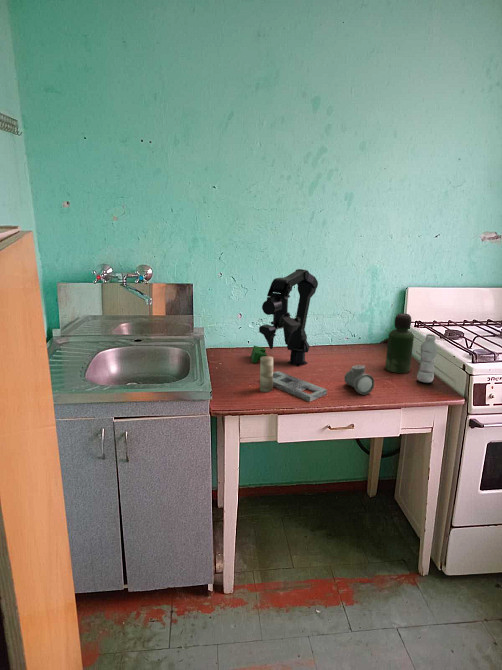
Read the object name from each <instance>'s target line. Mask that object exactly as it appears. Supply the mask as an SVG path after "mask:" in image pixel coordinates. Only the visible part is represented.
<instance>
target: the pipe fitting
mask: <svg viewBox="0 0 502 670" xmlns="http://www.w3.org/2000/svg"><path fill="white" fill-rule="evenodd" d="M365 371H366V365H363V364H356V365H353V366H352V367H351V368H350V369H349V371H347V372H346V373H345V374H344V378H343V379H344V383H345V384H346V385H348V386H350V387H352V388H354V391H356V392H357V393H358V394H359V395H362V396H365V395H368V394H370V393H371V392H372V391H373V389H374V387H375V379H374V377H373V376H372V375H371V374H368V373H366V372H365Z"/></svg>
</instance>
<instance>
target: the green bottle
mask: <svg viewBox="0 0 502 670" xmlns="http://www.w3.org/2000/svg"><path fill="white" fill-rule="evenodd" d="M411 326H412V316H411V315H410V314H409V313H402V312H401V313H398V314H396V316H395V317H394V328H395V329H392V330H391V331H390V332H389V333H388V338H387V339H388V340H387V350H386V358H385V366H384V368H385V369H386V370H387V371H388V372H390V373H391V372H392V373H397V374H406V373H409V372H410V370H411V364H412V363H411V362H412V354H413V347H414V339H415V336H414V334H413V332H412V331H410V329H411Z"/></svg>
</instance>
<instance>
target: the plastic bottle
mask: <svg viewBox="0 0 502 670" xmlns="http://www.w3.org/2000/svg"><path fill="white" fill-rule="evenodd" d="M436 337H437V336H436V335H435V334H430V333H429V334H428V333H427V334H425V341H424V342H423V343H421V346H420V364H419V366H418V367H419V368H418V371H417V373H416V376H417V377H416V378H417V380H418V381H419V382H421V383H425V384H429V383H432V382H433V381H434V378H435V371H434V368H435V361H436V357H437V353H438V346H437V344H436V342H435V341H436Z"/></svg>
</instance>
